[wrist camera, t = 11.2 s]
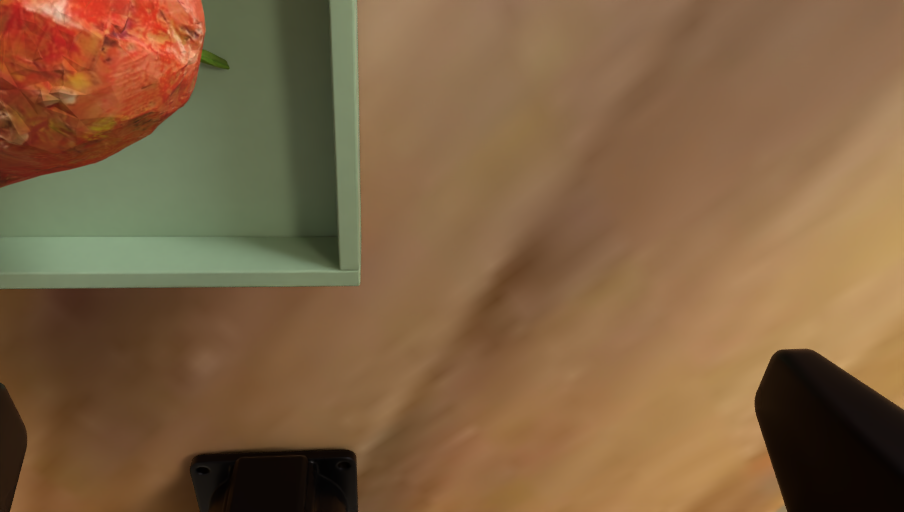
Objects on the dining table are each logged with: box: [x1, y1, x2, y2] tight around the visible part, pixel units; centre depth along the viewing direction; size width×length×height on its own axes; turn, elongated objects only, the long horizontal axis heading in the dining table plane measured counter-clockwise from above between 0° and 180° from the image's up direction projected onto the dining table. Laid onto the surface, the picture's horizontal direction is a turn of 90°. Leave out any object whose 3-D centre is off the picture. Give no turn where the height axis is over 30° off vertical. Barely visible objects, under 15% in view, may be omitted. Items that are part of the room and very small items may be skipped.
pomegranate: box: [0, 0, 230, 188], centre depth 14 cm, size 7×7×10 cm
